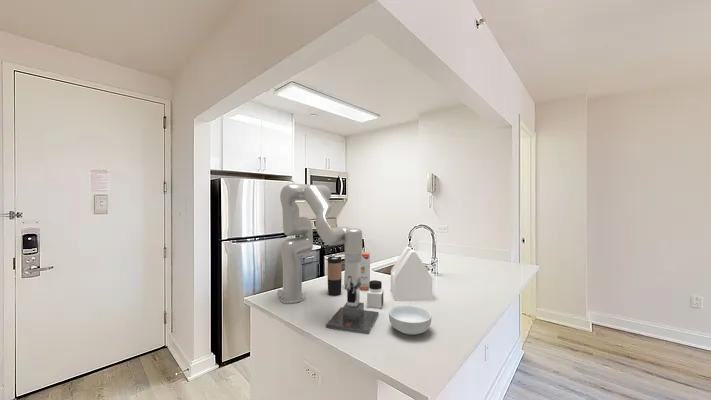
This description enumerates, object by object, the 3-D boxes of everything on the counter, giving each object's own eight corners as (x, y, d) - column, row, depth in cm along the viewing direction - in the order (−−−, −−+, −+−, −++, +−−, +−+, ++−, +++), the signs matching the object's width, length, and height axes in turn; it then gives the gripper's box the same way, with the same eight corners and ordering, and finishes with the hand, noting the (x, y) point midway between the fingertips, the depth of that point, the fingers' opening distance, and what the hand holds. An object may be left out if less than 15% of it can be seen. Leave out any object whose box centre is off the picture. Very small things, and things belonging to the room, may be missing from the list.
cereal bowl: (423, 345, 101) (423, 326, 101) (381, 333, 110) (381, 315, 109) (436, 327, 115) (436, 309, 115) (399, 317, 124) (399, 301, 124)
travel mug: (330, 297, 149) (330, 259, 148) (325, 292, 156) (325, 256, 155) (343, 294, 152) (343, 258, 152) (338, 290, 159) (338, 255, 159)
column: (345, 318, 119) (345, 285, 118) (349, 313, 124) (349, 281, 123) (357, 320, 117) (357, 286, 117) (361, 314, 122) (361, 282, 122)
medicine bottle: (381, 308, 134) (381, 283, 134) (367, 307, 135) (367, 282, 135) (383, 303, 141) (383, 279, 141) (369, 301, 142) (369, 278, 142)
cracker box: (344, 289, 161) (344, 253, 161) (346, 286, 167) (346, 251, 166) (368, 290, 159) (368, 254, 158) (370, 287, 165) (370, 251, 164)
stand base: (325, 327, 114) (325, 310, 114) (341, 310, 132) (340, 295, 132) (368, 334, 109) (368, 316, 109) (378, 315, 126) (378, 299, 126)
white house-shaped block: (424, 290, 160) (424, 246, 159) (432, 300, 144) (432, 252, 144) (390, 290, 159) (390, 246, 159) (395, 300, 144) (395, 252, 143)
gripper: (351, 253, 129) (351, 292, 130) (338, 261, 113) (338, 306, 113) (367, 254, 127) (367, 293, 127) (355, 262, 111) (356, 308, 111)
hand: (353, 299), depth 120 cm, fingers open, 5 cm apart
